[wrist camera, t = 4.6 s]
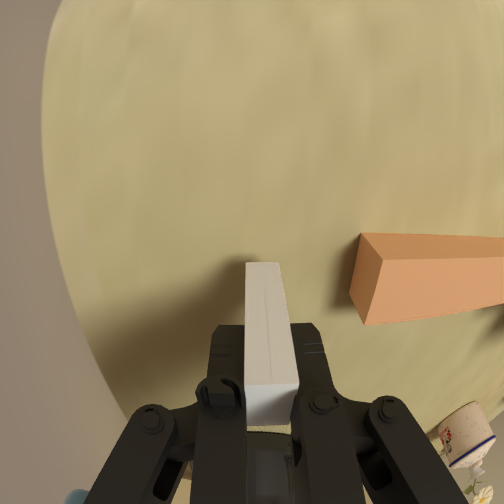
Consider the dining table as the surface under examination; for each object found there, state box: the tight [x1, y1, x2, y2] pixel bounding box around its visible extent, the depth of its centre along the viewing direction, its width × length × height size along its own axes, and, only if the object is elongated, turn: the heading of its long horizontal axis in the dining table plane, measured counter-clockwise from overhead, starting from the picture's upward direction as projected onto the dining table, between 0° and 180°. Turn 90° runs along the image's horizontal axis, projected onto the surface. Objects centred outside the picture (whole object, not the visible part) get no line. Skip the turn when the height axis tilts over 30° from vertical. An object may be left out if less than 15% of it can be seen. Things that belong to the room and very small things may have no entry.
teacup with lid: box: [437, 401, 495, 469], centre depth 25 cm, size 12×9×12 cm
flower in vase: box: [463, 465, 493, 504], centre depth 30 cm, size 13×11×25 cm
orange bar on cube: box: [349, 233, 504, 326], centre depth 13 cm, size 22×5×6 cm, turn 90°
